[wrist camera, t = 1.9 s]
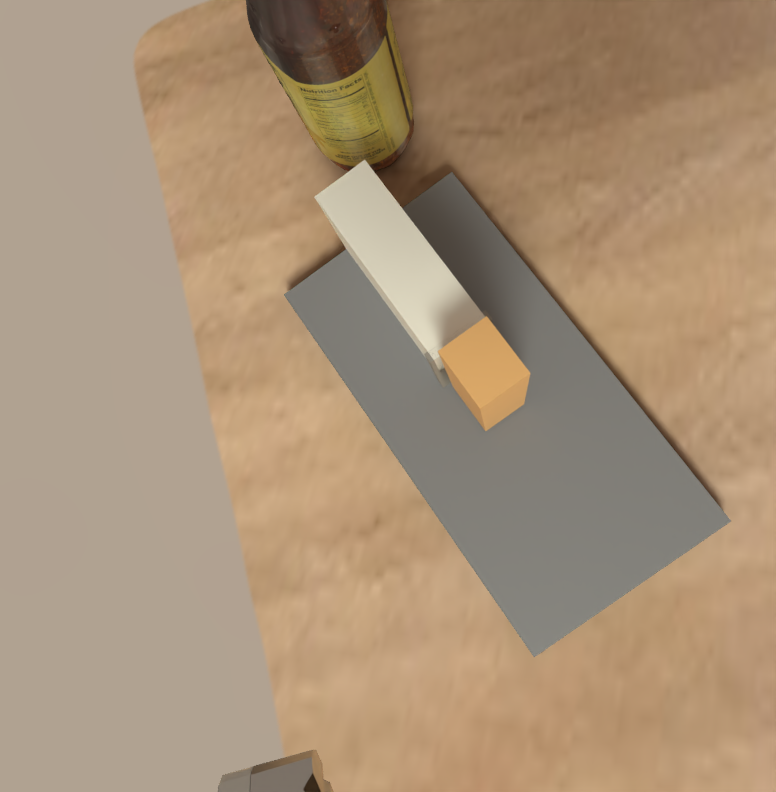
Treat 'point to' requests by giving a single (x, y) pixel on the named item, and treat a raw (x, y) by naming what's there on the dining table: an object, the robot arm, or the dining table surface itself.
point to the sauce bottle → (339, 74)
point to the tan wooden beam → (486, 373)
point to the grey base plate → (518, 432)
